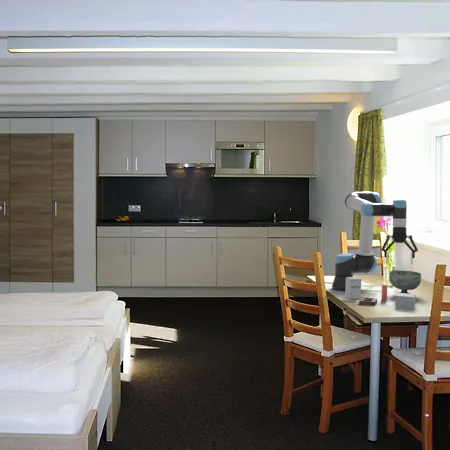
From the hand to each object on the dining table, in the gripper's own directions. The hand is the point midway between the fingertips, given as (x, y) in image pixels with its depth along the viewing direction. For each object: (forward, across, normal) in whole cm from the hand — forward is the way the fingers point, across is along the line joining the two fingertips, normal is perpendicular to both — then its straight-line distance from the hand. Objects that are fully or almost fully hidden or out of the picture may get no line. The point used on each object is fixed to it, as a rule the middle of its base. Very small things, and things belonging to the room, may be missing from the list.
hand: (399, 263), depth 361 cm
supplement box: (+23, -29, +15) cm, 40 cm away
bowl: (+23, -1, +35) cm, 42 cm away
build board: (+24, -18, +2) cm, 30 cm away
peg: (+24, -10, +12) cm, 28 cm away
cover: (+25, +3, +1) cm, 25 cm away
